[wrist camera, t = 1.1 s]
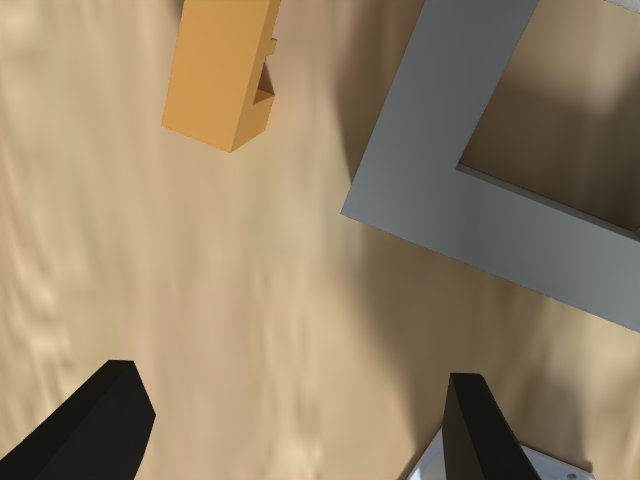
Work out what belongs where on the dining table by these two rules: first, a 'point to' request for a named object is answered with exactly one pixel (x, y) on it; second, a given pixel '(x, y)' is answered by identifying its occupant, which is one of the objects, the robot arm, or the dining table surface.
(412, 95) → the grey frame
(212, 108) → the notched orange plank
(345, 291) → the dining table surface
